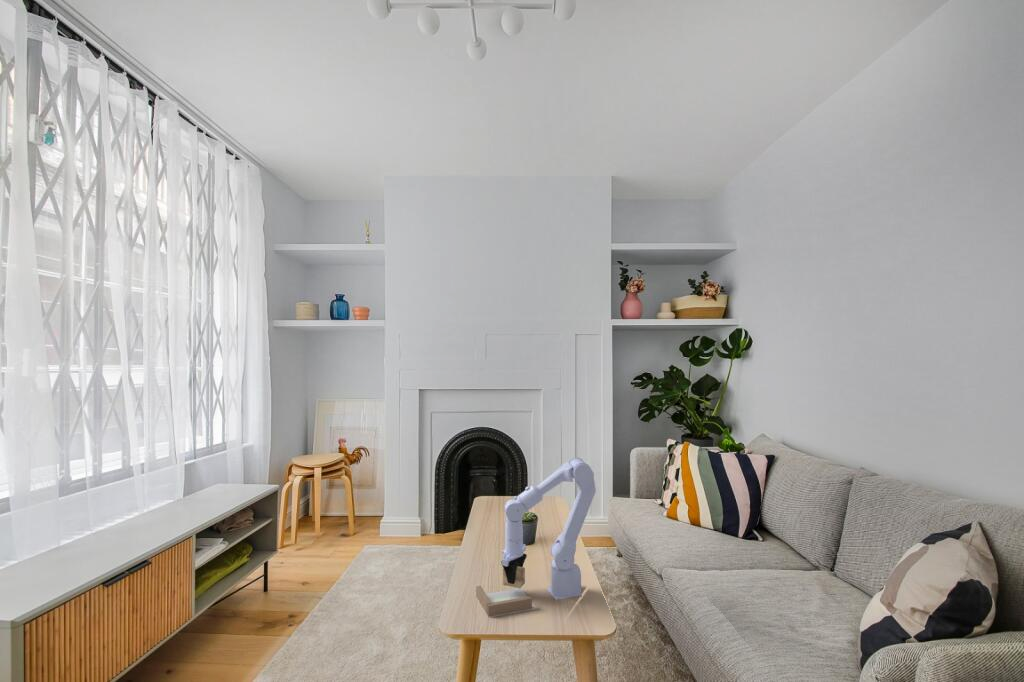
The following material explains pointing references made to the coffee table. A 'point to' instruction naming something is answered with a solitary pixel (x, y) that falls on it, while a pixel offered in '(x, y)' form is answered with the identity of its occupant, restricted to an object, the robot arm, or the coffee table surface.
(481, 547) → the coffee table surface
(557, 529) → the coffee table surface
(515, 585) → the oak block
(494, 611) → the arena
